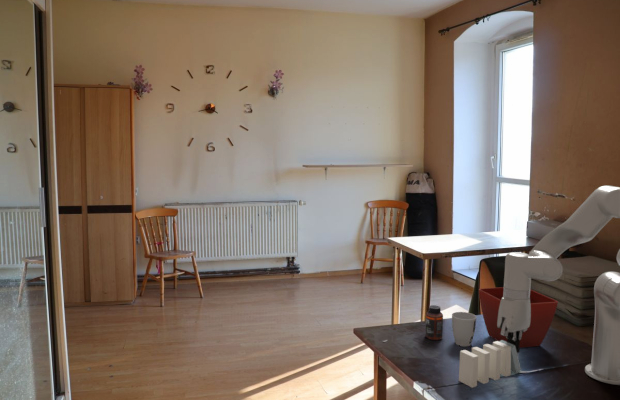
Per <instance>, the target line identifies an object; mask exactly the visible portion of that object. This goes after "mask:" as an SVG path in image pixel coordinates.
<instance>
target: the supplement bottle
mask: <svg viewBox="0 0 620 400" xmlns="http://www.w3.org/2000/svg"><path fill="white" fill-rule="evenodd" d="M425 314H426V315H425V337H426V338H427V339H429V340H432V341H439V340H441V339H443V332H444V331H443V330H444V328H443V327H444V325H443V324H444V314H443V313H442V312H441V306H440V305H433V304H432V305H429V307H428V311H427V312H426V313H425Z"/></svg>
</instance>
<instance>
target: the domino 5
mask: <svg viewBox="0 0 620 400" xmlns="http://www.w3.org/2000/svg"><path fill="white" fill-rule="evenodd" d="M499 342H501V343H504V344H506V345H508V346H511V372H513V373H515V374H518V373H519V372H520V371H522V368H521V363H520V361H519V356H518V353H517V351H516V347H515V345H513V344H511V343H508V342H506V341H503V340H501V341H499Z"/></svg>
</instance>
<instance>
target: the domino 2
mask: <svg viewBox="0 0 620 400" xmlns="http://www.w3.org/2000/svg"><path fill="white" fill-rule="evenodd" d="M471 353H473V354H475V355H477V356H478V374H477V382H478V383H481V384H483V385H485V384H488V383H489V380H490V377H489V363H490V352H487V351H485V350H483V348H480V347H478V346H474V347H471Z"/></svg>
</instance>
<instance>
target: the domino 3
mask: <svg viewBox="0 0 620 400" xmlns="http://www.w3.org/2000/svg"><path fill="white" fill-rule="evenodd" d="M482 349H483V350H485V351H487V352H490V363H489V379H492V380H493V381H497V380H500V379H501V374H500V365H501V349H499V348H497V347H494V346H493V344H489V343H485V344H483V345H482Z"/></svg>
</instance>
